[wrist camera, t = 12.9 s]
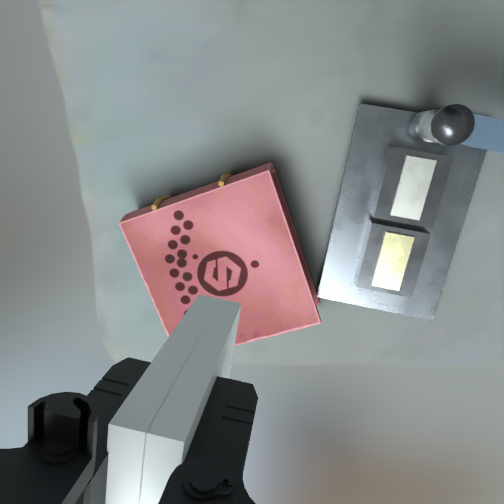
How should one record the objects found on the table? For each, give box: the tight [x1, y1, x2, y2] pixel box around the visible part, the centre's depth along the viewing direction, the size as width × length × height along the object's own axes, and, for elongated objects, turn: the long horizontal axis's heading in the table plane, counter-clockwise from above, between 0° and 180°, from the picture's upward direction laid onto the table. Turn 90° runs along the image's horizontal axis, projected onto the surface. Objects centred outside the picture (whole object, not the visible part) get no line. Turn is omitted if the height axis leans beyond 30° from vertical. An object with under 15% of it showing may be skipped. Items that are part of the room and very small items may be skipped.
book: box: [119, 162, 321, 346], centre depth 39 cm, size 14×15×5 cm
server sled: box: [317, 104, 487, 320], centre depth 35 cm, size 18×11×6 cm, turn 171°
